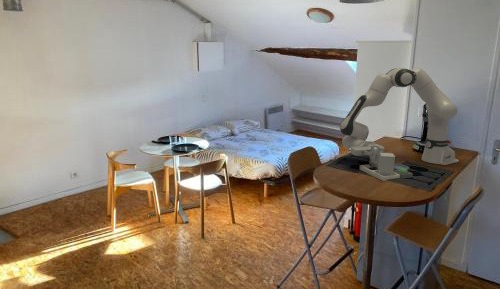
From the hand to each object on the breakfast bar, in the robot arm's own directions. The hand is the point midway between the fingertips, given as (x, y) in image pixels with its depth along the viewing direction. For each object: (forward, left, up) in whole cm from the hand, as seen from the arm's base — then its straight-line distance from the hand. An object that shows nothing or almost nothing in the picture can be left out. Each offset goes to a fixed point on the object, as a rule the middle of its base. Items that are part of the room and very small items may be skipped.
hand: (375, 154), depth 219 cm
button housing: (-9, +13, -11) cm, 19 cm away
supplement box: (0, +9, -11) cm, 14 cm away
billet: (0, -1, -7) cm, 7 cm away
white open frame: (0, +4, -11) cm, 11 cm away
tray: (-17, 0, -11) cm, 20 cm away
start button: (-9, +13, -10) cm, 18 cm away
